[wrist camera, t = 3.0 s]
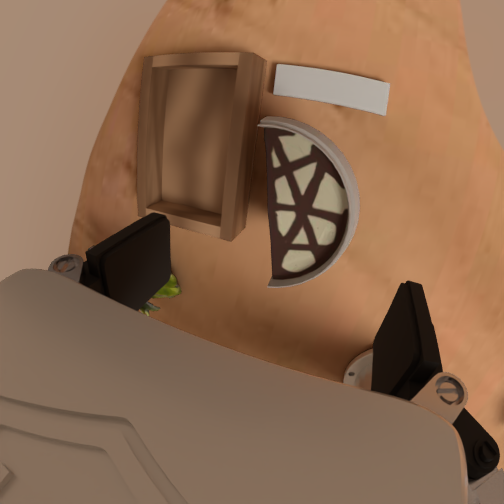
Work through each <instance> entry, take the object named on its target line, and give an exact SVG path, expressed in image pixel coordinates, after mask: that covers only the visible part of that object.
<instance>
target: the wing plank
mask: <svg viewBox="0 0 504 504" xmlns="http://www.w3.org/2000/svg"><path fill="white" fill-rule="evenodd" d="M389 89H390V84H389V83H385V82H382V81H378V80H373V79H369V78H365V77H360V76H356V75H351V74H346V73H341V72H335V71H329V70H323V69H317V68H310V67H302V66H293V65H284V64H277V68H276V76H275V84H274V92H273V94H274V95H278V96H286V97H293V98H300V99H307V100H313V101H319V102H324V103H330V104H335V105H340V106H345V107H349V108H354V109H358V110H362V111H366V112H371V113H374V114H378V115H382V116H386V109H387V103H388V96H389Z"/></svg>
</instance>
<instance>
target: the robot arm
mask: <svg viewBox="0 0 504 504" xmlns="http://www.w3.org/2000/svg"><path fill="white" fill-rule="evenodd" d="M86 258H87V261H85V262H83V259H82V257H81V256H79V255H75V254H68V255H63V256H61V257H58V258H56V259H55V260H54V261H52V262H51V264H50V266H49V268H48V271H47V270H42V269H23V270H20V271H18V272H16V273H14V274H12V275H10V276H9V277H7V278H5V279H4V280H2V281H1V282H0V504H504V471H503V469H502V468H501V469H499V470H498V469H497V465H498V463H499V458H500V453H499V448H498V445H497V443H496V442H495V440H494V439H493V438H492V437H491V436H490V435H489V434H488V433H487V432H486V430H485V429H484V428H483V427H482V426H481V425H480V424H479V423H478V422H477V421H476V420H475V419H474V418H473V417H472V416H471V414H470V413H469V412H468V411H467V410H466V409H465V408H464V406H465V405H466V403H467V400H468V392H467V389H466V387H465V385H464V383H463V382H462V381H461V380H460V379H459V378H458V377H457V376H455V375H453V374H451V373H447V372H443V370H442V364H441V359H440V353H439V348H438V343H437V339H436V334H435V330H434V326H433V324H432V322H431V317H430V313H429V309H428V306H427V302H426V298H425V294H424V291H423V287H422V285H421V284H419V283H415V282H412V281H406V283H405V284H404V283H401V284H400V286H399V288H398V290H397V293H396V295H395V297H394V299H393V302H392V304H391V306H390V308H389V310H388V312H387V314H386V316H385V318H384V320H383V322H382V324H381V326H380V328H379V330H378V332H377V334H376V336H375V339H374V343H373V348H372V349H369V350H367V351H365V352H363V353H361V354H360V355H358V356H357V357H356V358H354V359H353V360H352V361H351V362H350V363H349V365H348V367H347V368H346V370H345V374H344V380H343V383H340V382H336V381H332V380H328V379H325V378H321V377H317V376H314V375H310V374H307V373H303V372H300V371H296V370H293V369H290V368H286V367H283V366H280V365H277V364H274V363H271V362H267V361H264V360H261V359H258V358H255V357H252V356H249V355H246V354H244V353H241V352H238V351H235V350H232V349H229V348H227V347H224V346H221V345H218V344H216V343H213V342H210V341H208V340H205V339H203V338H200V337H198V336H195V335H192V334H190V333H187V332H185V331H182V330H180V329H178V328H175V327H173V326H170V325H168V324H166V323H163V322H161V321H159V320H156V319H154V318H152V317H149V316H147V315H145V314H143V313H141V312H138V310H139V309H140V308H141V307H142V306H143V305H144V304H145V303H146V302H147V301H148V300H149V299H150V298H152V297H153V296H154V295H155V294H156V293H157V292H158V291H159V290H160V289H161V288H162V287H163V286H164V285H165V284H166V283H167V282H168V281H169V279H170V277H171V260H170V221H169V220H168V219H167V216H166V215H163V214H159V213H155V212H152V213H150V214H148V215H147V216H145V217H143V218H141V219H140V220H138V221H136V222H134V223H133V224H131V225H129V226H127V227H126V228H124V229H122V230H121V231H119V232H117V233H116V234H114V235H112V236H111V237H109V238H107V239H106V240H104V241H102V242H101V243H99V244H97V245H96V246H94V247H93V248H91V249H89V250H88V251H86Z"/></svg>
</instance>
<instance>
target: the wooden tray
mask: <svg viewBox="0 0 504 504" xmlns="http://www.w3.org/2000/svg"><path fill="white" fill-rule="evenodd" d="M266 64H267V61H266V60H265V59H263V58H261V57H260V56H258V55H256V54H254V53H243V52H201V53H181V54H168V55H158V56H149V57H144V63H143V72H142V81H141V92H140V105H139V121H138V145H137V203H138V216H139V217H145V216H147V215H148V214H150V213H152V212H155V213H159V214H163V215H166V216H167V219H168V220H169V221H170V225H172V226H176V227H179V228H183V229H187V230H190V231H194V232H198V233H201V234H205V235H209V236H212V237H216V238H219V239H223V240H227V241H230V242H231V241H232V240H233V239H234V238H235V237H236V236H237V235H238V234H239V233H240V232H241V231H242V230H243V229H244V228H245V225H246V217H247V209H248V201H249V193H250V185H251V177H252V169H253V162H254V154H255V146H256V139H257V131H258V126H257V125H258V123H259V116H260V108H261V101H262V94H263V86H264V79H265V72H266Z"/></svg>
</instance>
